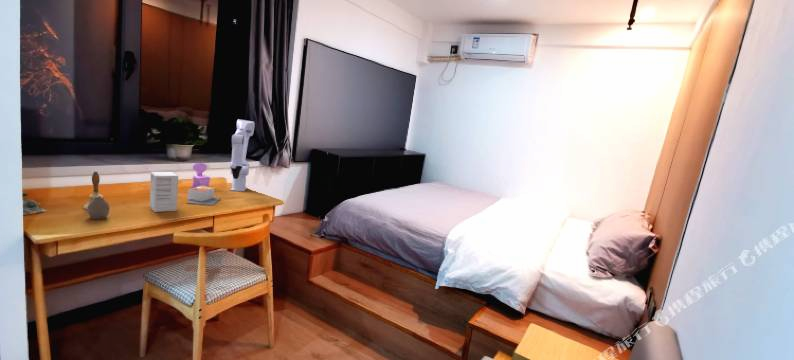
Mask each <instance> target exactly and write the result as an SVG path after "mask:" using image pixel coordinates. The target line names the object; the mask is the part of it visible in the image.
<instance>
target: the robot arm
mask: <svg viewBox="0 0 794 360" xmlns="http://www.w3.org/2000/svg"><path fill="white" fill-rule="evenodd" d="M254 131H255V121H251V120H245V119H239V118H238V119H237V120H236V131H235V133H234V134H232V135H231V148H232V150H231V161H229V162H228V164H230V174H231V175H232V185H231V186H232V187H231V188H230V189H229V190H230V191H237V192H245V191H246V190H247V189H248V187H246V186H247V185H246V183H247V176H249V173H250V163H249V162H248V161H247V159H246V158H247V157H246V156H247V151H248V146H249V140H250V137H252V136H253V135H254Z"/></svg>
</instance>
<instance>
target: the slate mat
mask: <svg viewBox="0 0 794 360" xmlns="http://www.w3.org/2000/svg"><path fill="white" fill-rule="evenodd" d="M220 200H221V198H220V197H214V198H211V199H208V200H205V201H202V202H201V201H196V200H190V199H189V200H188V201H187V202H186V204H190V205H201V206H214V205H215V204H216V203H218V202H219V201H220Z"/></svg>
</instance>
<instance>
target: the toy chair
mask: <svg viewBox="0 0 794 360" xmlns="http://www.w3.org/2000/svg"><path fill="white" fill-rule="evenodd" d="M207 169H208V166H207V164H205V163H203V162H196V163H195V164H193V166H192V170H193V171H195V172H196V175H192V176H193V177H192V180H193V183H192V184H191V186H190V187H191V188H195V187H199V186H205V187H210V182H211V177H210V176H207V175H205V174H203V173H204V172H206V171H207Z"/></svg>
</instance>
